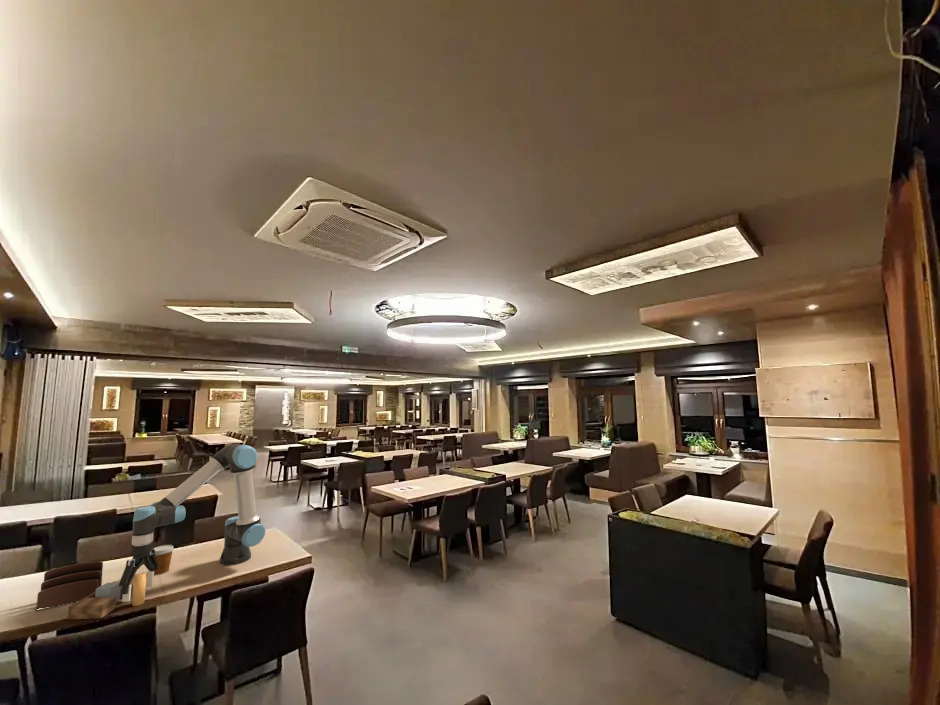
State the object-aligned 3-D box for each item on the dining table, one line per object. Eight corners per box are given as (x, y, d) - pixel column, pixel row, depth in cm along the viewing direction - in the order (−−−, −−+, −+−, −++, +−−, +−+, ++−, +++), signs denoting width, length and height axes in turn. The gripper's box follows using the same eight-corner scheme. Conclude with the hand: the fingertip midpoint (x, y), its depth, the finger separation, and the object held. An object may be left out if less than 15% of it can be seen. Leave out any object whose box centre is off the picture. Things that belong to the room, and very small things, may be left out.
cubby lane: (142, 591, 190) (142, 580, 190) (101, 618, 167) (102, 605, 168) (112, 592, 189) (113, 581, 190) (67, 619, 167) (68, 606, 167)
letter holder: (42, 601, 182) (45, 569, 183) (101, 589, 193) (103, 558, 195) (35, 611, 174) (38, 576, 175) (97, 597, 185) (100, 565, 187)
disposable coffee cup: (160, 576, 206) (161, 551, 207) (144, 575, 207) (146, 550, 209) (177, 568, 215) (178, 545, 216) (162, 567, 217) (163, 544, 218)
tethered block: (148, 599, 182) (150, 571, 183) (138, 606, 176) (140, 577, 177) (106, 601, 181) (108, 573, 182) (94, 608, 175) (96, 579, 176)
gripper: (153, 534, 194) (150, 581, 191) (110, 554, 169) (105, 608, 167) (169, 533, 194) (166, 580, 192) (129, 553, 169) (124, 607, 167)
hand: (138, 593), depth 179 cm, fingers open, 13 cm apart
